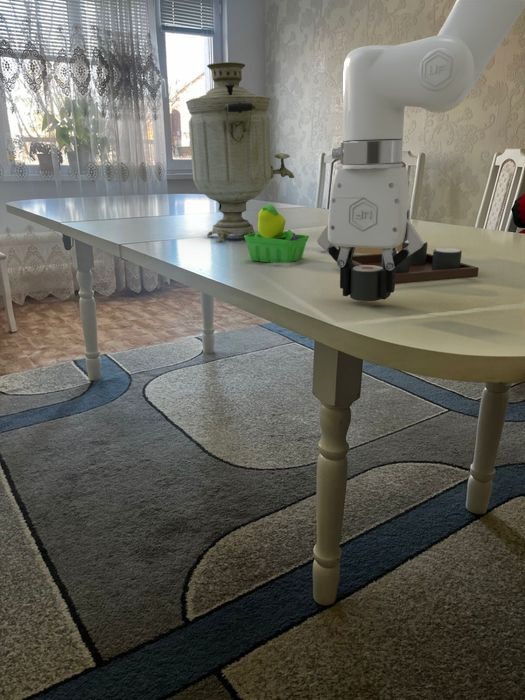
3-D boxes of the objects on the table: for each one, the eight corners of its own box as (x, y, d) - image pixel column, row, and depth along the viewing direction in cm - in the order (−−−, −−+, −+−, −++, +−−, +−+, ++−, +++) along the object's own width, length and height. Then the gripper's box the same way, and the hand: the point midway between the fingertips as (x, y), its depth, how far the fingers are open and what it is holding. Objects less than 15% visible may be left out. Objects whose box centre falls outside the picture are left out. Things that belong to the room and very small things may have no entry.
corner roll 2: (430, 264, 102) (432, 242, 100) (409, 266, 100) (411, 244, 99) (416, 260, 106) (418, 239, 104) (396, 262, 105) (397, 240, 103)
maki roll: (389, 299, 74) (391, 268, 73) (359, 302, 73) (360, 271, 71) (373, 292, 78) (374, 263, 77) (344, 295, 77) (344, 266, 75)
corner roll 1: (414, 279, 90) (416, 254, 89) (389, 281, 89) (391, 256, 87) (399, 274, 94) (401, 250, 93) (375, 276, 93) (377, 252, 91)
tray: (477, 279, 92) (479, 267, 91) (385, 288, 87) (386, 275, 86) (418, 261, 108) (419, 251, 107) (338, 267, 103) (338, 256, 102)
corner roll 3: (464, 275, 93) (467, 251, 91) (441, 277, 91) (444, 252, 90) (448, 270, 97) (450, 247, 96) (426, 271, 96) (428, 248, 94)
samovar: (296, 247, 125) (299, 52, 112) (183, 247, 126) (173, 54, 112) (293, 230, 153) (295, 73, 140) (200, 230, 154) (193, 74, 140)
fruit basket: (310, 260, 110) (311, 203, 106) (288, 268, 103) (289, 206, 99) (262, 255, 116) (262, 200, 112) (239, 262, 109) (237, 204, 105)
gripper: (299, 158, 70) (300, 296, 76) (434, 154, 62) (423, 308, 69) (320, 158, 76) (319, 285, 82) (445, 154, 69) (434, 294, 75)
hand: (366, 294), depth 75 cm, fingers closed on maki roll, 4 cm apart
